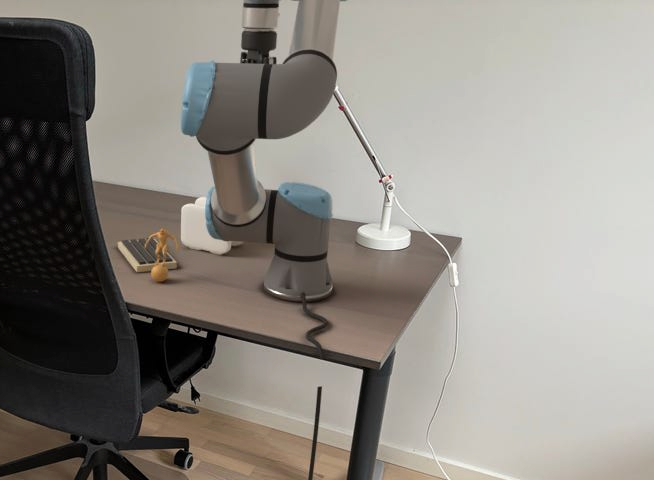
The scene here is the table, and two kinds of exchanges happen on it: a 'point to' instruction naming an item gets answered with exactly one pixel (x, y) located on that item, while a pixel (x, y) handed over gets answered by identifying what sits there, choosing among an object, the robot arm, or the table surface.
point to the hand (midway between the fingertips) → (253, 132)
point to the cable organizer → (200, 230)
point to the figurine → (159, 270)
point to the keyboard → (144, 254)
